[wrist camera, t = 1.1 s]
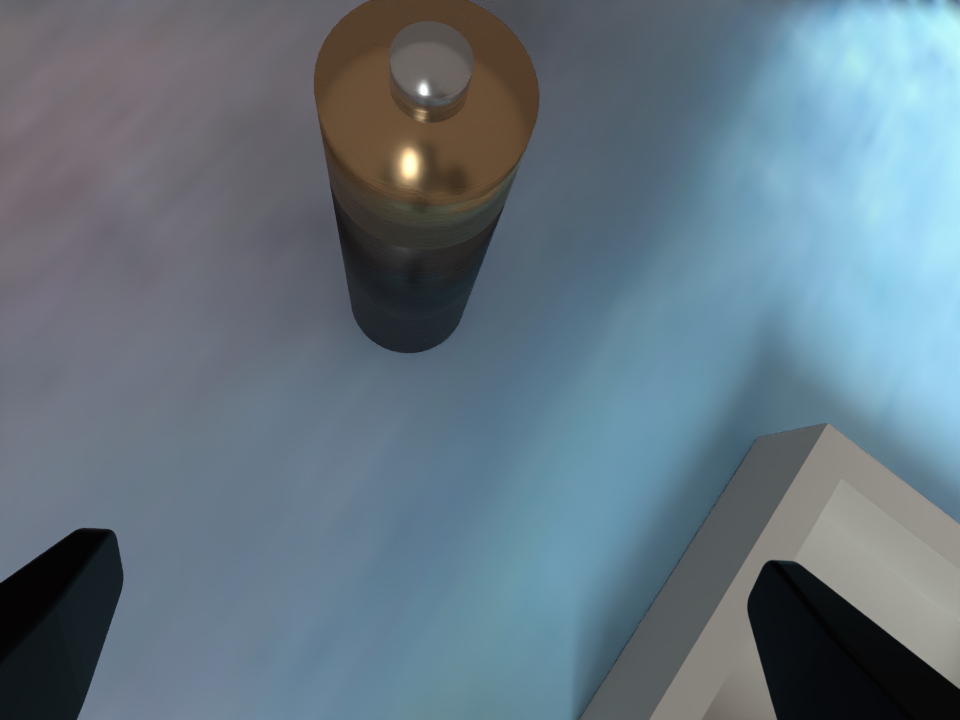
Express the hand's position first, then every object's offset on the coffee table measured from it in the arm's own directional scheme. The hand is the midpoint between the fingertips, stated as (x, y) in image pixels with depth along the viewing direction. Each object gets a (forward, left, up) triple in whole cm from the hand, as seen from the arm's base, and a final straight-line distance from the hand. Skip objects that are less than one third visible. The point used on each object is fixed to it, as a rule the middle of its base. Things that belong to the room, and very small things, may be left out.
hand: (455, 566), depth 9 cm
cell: (+6, +5, -13) cm, 15 cm away
